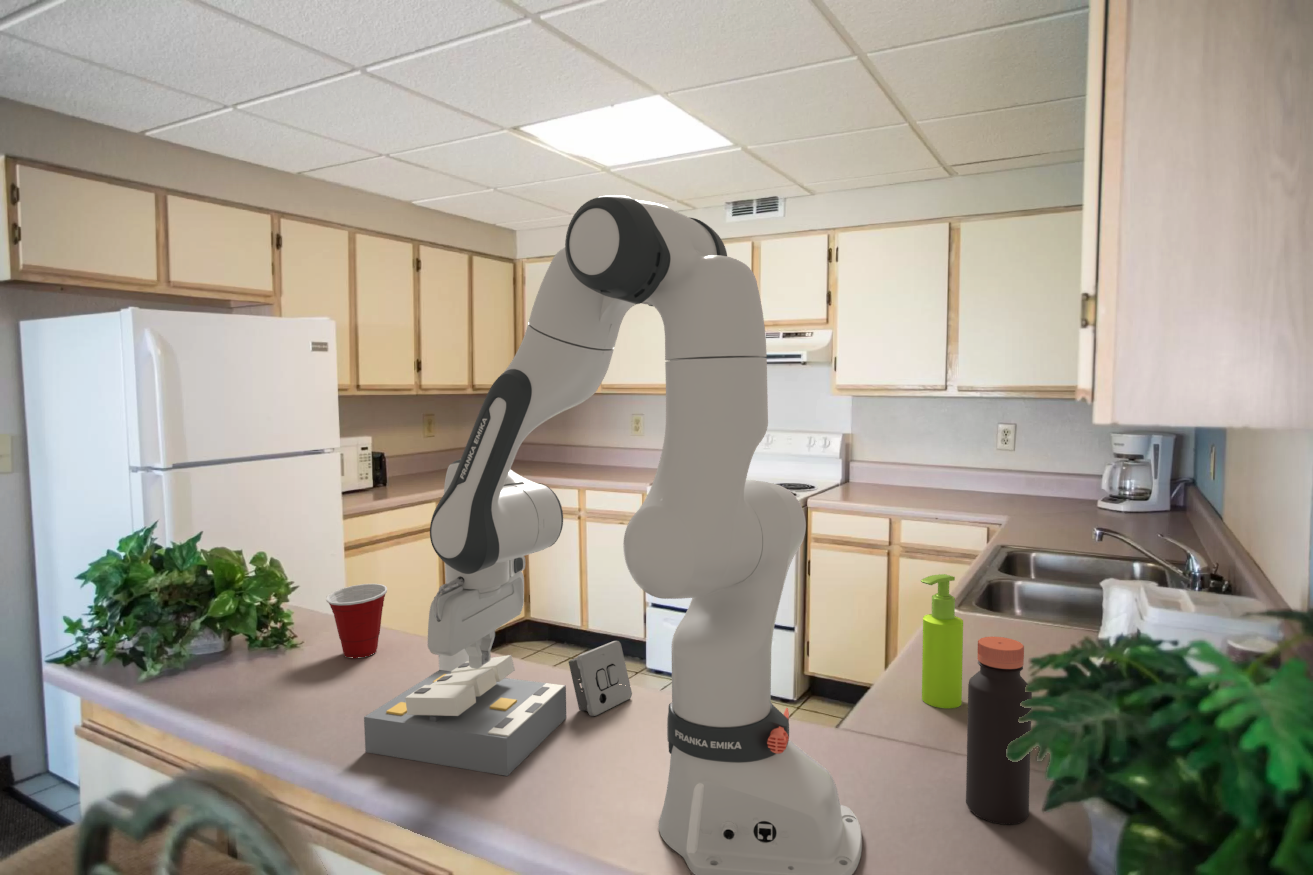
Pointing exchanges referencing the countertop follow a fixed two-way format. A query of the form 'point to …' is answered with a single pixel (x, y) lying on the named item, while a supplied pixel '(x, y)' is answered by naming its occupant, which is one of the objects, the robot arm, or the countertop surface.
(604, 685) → the electrical switch
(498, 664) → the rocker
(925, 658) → the soap dispenser
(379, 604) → the plastic cup
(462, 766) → the switch unit
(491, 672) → the rocker
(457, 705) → the rocker
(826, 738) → the countertop surface
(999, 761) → the bottle
